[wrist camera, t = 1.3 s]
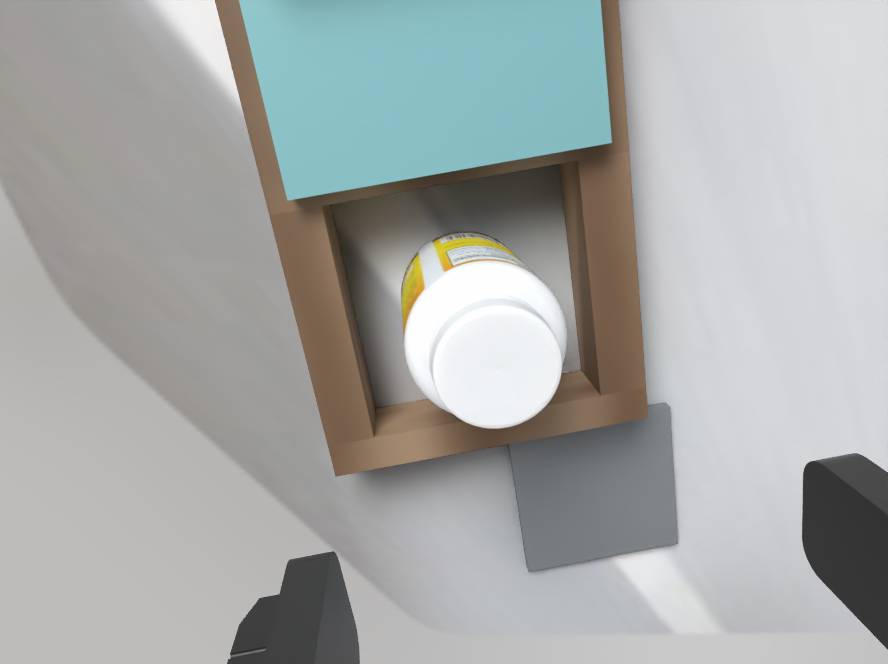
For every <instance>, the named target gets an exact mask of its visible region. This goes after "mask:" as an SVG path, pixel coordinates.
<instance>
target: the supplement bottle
mask: <svg viewBox="0 0 888 664" xmlns="http://www.w3.org/2000/svg"><path fill="white" fill-rule="evenodd" d="M401 303H402V317H403V333H404V350H405V356H406V361H407V365H408V368H409V371H410V373H411V375H412V377H413V379H414V381H415V383H416V384H417V386H418V387H419V389H420V390H421V391H422V392H423V394H424V395H425V396H426V397H427V398H428V399H429V400H430V401H432V402H433V403H434V404H436V405H437V406H438V407H440V408H442V409H444V410H445V411H447V412H450V413H452V414H454V415H455V416H456V417H458V418H459V419H461V420H462V421H464V422H466V423H469V424H471V425H474V426H478V427H482V428H489V429H500V428H507V427H511V426H515V425H518V424H520V423H523V422H525V421H527V420H529V419H530V418H532V417H534V416H535V415H537V414H538V413H539V412H540V411H541V410H542V409H543V408H544V407H545V406H546V405H547V404H548V403H549V401H550V400H551V399H552V397H553V395H554V394H555V392H556V390H557V388H558V385H559V382H560V379H561V373H562V365H563V362H564V359H565V355H566V348H567V327H566V322H565V318H564V314H563V312H562V309H561V307H560V304H559V302H558V301H557V299H556V297H555V296H554V295H553V293H552V292H551V290H550V289H549V288H548V287H547V286H546V284H545V283H544V282H543V281H542V280H541V279H540V278H538V277H537V276H536V275H535V274H534V273H533V272H532V271H531V270H530V269H529V268H528V267H527V266H526V265H525V264H524V263H523V262H522V261H521V260H520V259H519V258H517V257H516V256H515V255H514V254H513V253H512V252H511V251H510V250H509V249H508V248H507V247H506V246H505V245H503V244H502V243H501V242H499V241H498V240H496V239H494V238H492V237H490V236H488V235H485V234H482V233H478V232H472V231H456V232H451V233H447V234H444V235H441V236H439V237H437V238H435V239H433V240H431V241H430V242H428V243H427V244H425V245H424V246H423V247H422V248H421V249H420V250H419V251H418V252H417V253H416V254H415V255H414V257H413V258H412V260H411V261H410V263H409V265H408V267H407V269H406V272H405V275H404V278H403V282H402V288H401Z"/></svg>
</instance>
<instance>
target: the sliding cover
mask: <svg viewBox="0 0 888 664" xmlns="http://www.w3.org/2000/svg"><path fill="white" fill-rule="evenodd" d="M239 3H240V7H241V11H242V15H243V19H244V24H245V28H246V32H247V36H248V40H249V44H250V48H251V52H252V57H253V61H254V65H255V69H256V73H257V77H258V81H259V85H260V89H261V94H262V98H263V102H264V106H265V110H266V114H267V118H268V122H269V127H270V131H271V135H272V139H273V143H274V147H275V151H276V155H277V159H278V164H279V168H280V172H281V176H282V180H283V184H284V188H285V192H286V196H287V201H288V200H294V199H300V198H305V197H311V196H316V195H322V194H328V193H333V192H339V191H345V190H350V189H356V188H361V187H367V186H373V185H378V184H384V183H389V182H395V181H401V180H406V179H412V178H418V177H423V176H429V175H434V174H440V173H446V172H451V171H457V170H462V169H468V168H474V167H479V166H485V165H490V164H496V163H502V162H507V161H513V160H519V159H524V158H530V157H535V156H541V155H547V154H552V153H558V152H563V151H569V150H575V149H580V148H586V147H591V146H597V145H603V144H608V143H612V138H611V125H610V112H609V100H608V87H607V75H606V62H605V50H604V37H603V24H602V12H601V0H239Z"/></svg>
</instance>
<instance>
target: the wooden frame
mask: <svg viewBox="0 0 888 664" xmlns="http://www.w3.org/2000/svg"><path fill="white" fill-rule="evenodd" d="M215 3H216V7H217V10H218V14H219V18H220V22H221V26H222V30H223V34H224V38H225V42H226V46H227V50H228V54H229V58H230V62H231V66H232V70H233V74H234V77H235V81H236V85H237V89H238V93H239V97H240V101H241V105H242V109H243V113H244V117H245V121H246V125H247V129H248V133H249V137H250V141H251V144H252V148H253V152H254V156H255V160H256V164H257V168H258V172H259V176H260V180H261V184H262V188H263V192H264V196H265V200H266V204H267V208H268V211H269V215H270V219H271V223H272V227H273V231H274V235H275V239H276V243H277V247H278V251H279V255H280V259H281V263H282V267H283V271H284V275H285V278H286V282H287V286H288V290H289V294H290V298H291V302H292V306H293V310H294V314H295V318H296V322H297V326H298V330H299V334H300V338H301V342H302V345H303V349H304V353H305V357H306V361H307V365H308V369H309V373H310V377H311V381H312V385H313V389H314V393H315V397H316V401H317V405H318V409H319V412H320V416H321V420H322V424H323V428H324V432H325V436H326V440H327V444H328V448H329V452H330V456H331V460H332V464H333V468H334V472H335V476H341V475H347V474H352V473H357V472H363V471H368V470H373V469H379V468H384V467H389V466H395V465H400V464H405V463H411V462H416V461H421V460H427V459H432V458H437V457H443V456H448V455H453V454H459V453H464V452H470V451H475V450H480V449H486V448H491V447H496V446H502V445H507V444H512V443H518V442H523V441H528V440H534V439H539V438H544V437H550V436H555V435H560V434H566V433H571V432H576V431H582V430H587V429H593V428H598V427H603V426H609V425H614V424H619V423H625V422H630V421H635V420H641V419H646V418H648V410H647V396H646V382H645V368H644V354H643V340H642V326H641V312H640V298H639V284H638V270H637V256H636V242H635V228H634V214H633V201H632V187H631V173H630V159H629V145H628V131H627V117H626V103H625V89H624V75H623V61H622V47H621V33H620V19H619V5H618V0H601V12H602V24H603V37H604V50H605V62H606V75H607V87H608V100H609V112H610V125H611V138H612V143H608V144H603V145H597V146H591V147H586V148H580V149H575V150H569V151H563V152H558V153H552V154H547V155H541V156H535V157H530V158H524V159H519V160H513V161H507V162H502V163H496V164H490V165H485V166H479V167H474V168H468V169H462V170H457V171H451V172H446V173H440V174H434V175H429V176H423V177H418V178H412V179H406V180H401V181H395V182H389V183H384V184H378V185H373V186H367V187H361V188H356V189H350V190H345V191H339V192H333V193H328V194H322V195H316V196H311V197H305V198H300V199H294V200H288V201H287V196H286V192H285V188H284V184H283V180H282V176H281V172H280V168H279V164H278V159H277V155H276V151H275V147H274V143H273V139H272V135H271V131H270V127H269V122H268V118H267V114H266V110H265V106H264V102H263V98H262V94H261V89H260V85H259V81H258V77H257V73H256V69H255V65H254V61H253V57H252V52H251V48H250V44H249V40H248V36H247V32H246V28H245V24H244V19H243V15H242V11H241V7H240V3H239V0H215ZM555 164H559V165H560V174H561V184H562V193H563V203H564V212H565V222H566V231H567V240H568V250H569V259H570V269H571V278H572V288H573V297H574V306H575V316H576V325H577V335H578V344H579V354H580V363H581V371H577V372H572V373H566V374H561V379H560V382H559V385H558V388H557V390H556V392H555V394H554V395H553V397H552V399H551V400H550V401H549V403H548V404H547V405H546V406H545V407H544V408H543V409H542V410H541V411H540V412H539V413H538V414H537V415H535V416H534V417H532V418H530V419H529V420H527V421H525V422H523V423H520V424H518V425H515V426H511V427H507V428H500V429H489V428H482V427H478V426H474V425H471V424H469V423H466V422H464V421H462V420H461V419H459V418H458V417H456V416H455V415H454V414H452V413H450V412H447V411H445V410H444V409H442V408H440V407H438V406H437V405H436V404H434V403H433V402H432V401H430V400H429V399H426V400H421V401H415V402H410V403H404V404H399V405H394V406H388V407H383V408H377V409H376V407H375V402H374V398H373V393H372V389H371V384H370V380H369V375H368V371H367V366H366V362H365V357H364V353H363V348H362V343H361V339H360V334H359V330H358V325H357V321H356V316H355V312H354V307H353V303H352V298H351V294H350V289H349V285H348V280H347V276H346V271H345V267H344V262H343V258H342V253H341V249H340V244H339V240H338V235H337V231H336V226H335V222H334V217H333V213H332V208H331V204H337V203H342V202H348V201H354V200H359V199H365V198H370V197H376V196H382V195H387V194H393V193H398V192H404V191H410V190H415V189H421V188H426V187H432V186H438V185H443V184H449V183H454V182H460V181H466V180H471V179H477V178H482V177H488V176H494V175H499V174H505V173H510V172H516V171H522V170H527V169H533V168H538V167H544V166H550V165H555Z"/></svg>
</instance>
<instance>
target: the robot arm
mask: <svg viewBox="0 0 888 664" xmlns="http://www.w3.org/2000/svg"><path fill="white" fill-rule="evenodd" d="M802 541H803V547H804V551H805V554H806V557H807V559H808V561H809V563H810V565H811V567H812V569H813V570H814V572H815V573H816V575H817V576H818V577H819V578H820V579H821V580H822V582H823V583H824V584H825V585H826V586H827V587H828V588H829V589H830V590H831V591H832V592H833V593H834V594H835V595H836V596H837V597H838V598H839V599H840V600H841V601H842V602H843V603H844V604H845V606H846V607H847V608H848V609H849V610H850V611H851V612H852V613H853V614H854V615H855V616H856V617H857V618H858V619H859V620H860V621H861V622H862V623H863V624H864V625H865V626H866V627H867V628H868V629H869V631H870V632H871V633H872V634H873V635H874V636H875V637H876V638H877V639H878V640H879V641H880V642H881V643H882V644H883V645H884V646H885V647H886V648H887V649H888V472H886V471H885V470H883V469H882V468H880V467H879V466H877V465H876V464H875V463H873V462H872V461H870V460H869V459H867V458H866V457H864V456H862V455H860V454H856V453H853V454H848V455H842V456H837V457H832V458H827V459H822V460H816V461H811V462H809V463H808V464H807V465H806V466H805V468H804V473H803V518H802ZM230 654H231V659H228V663H227V664H360V660H359V643H358V635H357V629H356V624H355V620H354V616H353V613H352V609H351V605H350V602H349V598H348V594H347V590H346V587H345V583H344V579H343V575H342V571H341V567H340V563H339V560H338V557H337V555H336V553H335V552H334V551H333V552H327V553H322V554H317V555H312V556H306V557H302V558H296V559H291V560H289V561H288V563H287V567H286V570H285V574H284V579H283V583H282V587H281V591H280V594H279V595H274V596H269V597H263V598H259V600H258V601H257V603H256V604H255V605H254V606H253V608H252V609H251V610H250V611H249V613H248V614H247V615H246V617H245V618H244V619H243V621H242V622H241V623H240V625H239V627H238V631H237V634H236V637H235V640H234V643H233V646H232V650H231V653H230Z"/></svg>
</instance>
